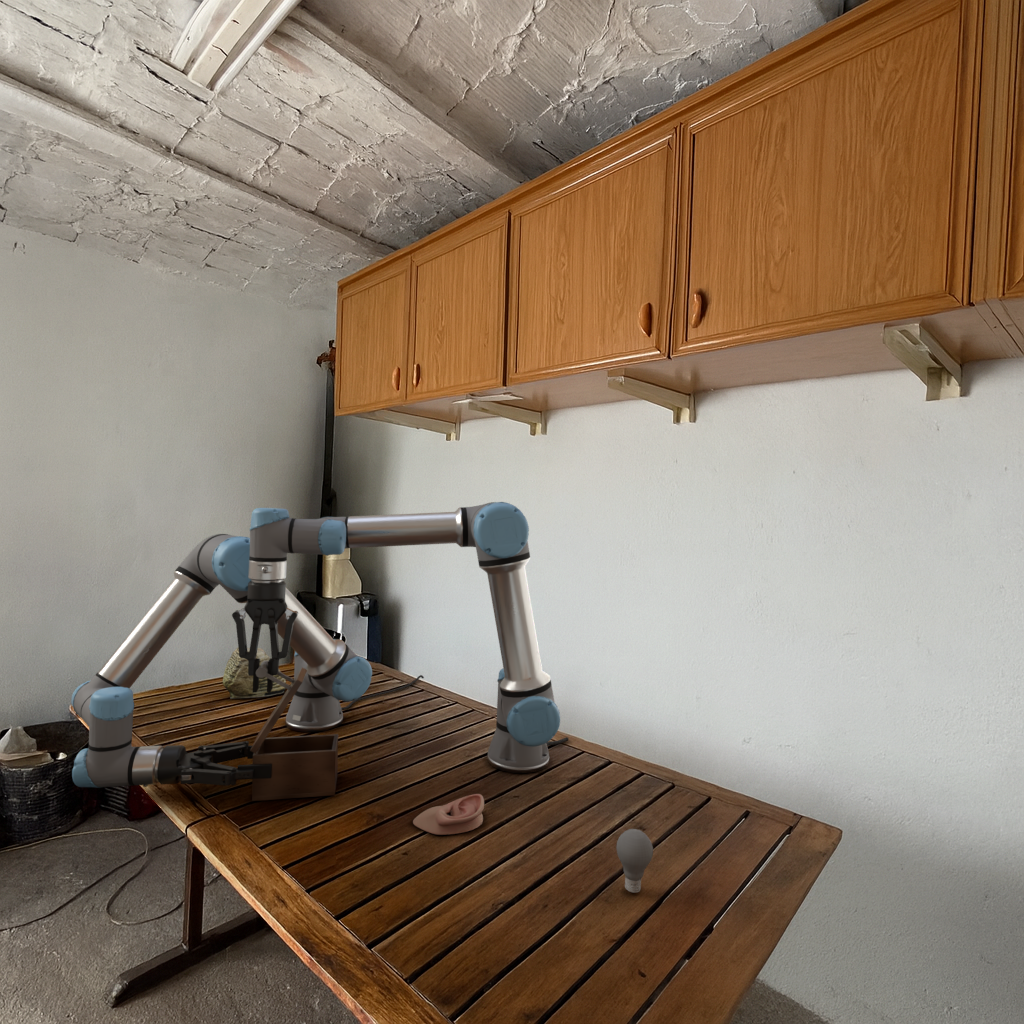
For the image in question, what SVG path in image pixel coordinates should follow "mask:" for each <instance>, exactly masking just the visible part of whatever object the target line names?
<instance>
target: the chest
mask: <svg viewBox="0 0 1024 1024" xmlns="http://www.w3.org/2000/svg"><path fill="white" fill-rule="evenodd" d="M254 764H272V774H271V778H265V779H251V781H252V783H251V802H259V801H261V802H262V801H271V800H272V801H273V800H285V799H287V800H288V799H301V798H313V797H327V796H328V797H329V796H336V788H337V783H338V782H337V781H338V771H339V770H338V769H339V767H338V766H339V765H338V764H339V734H338V733H332V734H330V733H329V734H314V735H293V736H277V737H275V736H273V737H266V739H265V740H264V742H263V743H262V745H261V746H260V748H259V749H258V751H257V752H256V754H255V753H254V754H253V759H252V765H254Z"/></svg>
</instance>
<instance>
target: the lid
mask: <svg viewBox="0 0 1024 1024" xmlns="http://www.w3.org/2000/svg"><path fill="white" fill-rule="evenodd" d="M306 672H307V670H306V669H304V668H303V667H302V668H301V670H300V671H299V673H298V674H297V676H296V677H295V679H294V678H293V677H291V676H288V675H287V674H285V673H283V672H282V671H281V670H280V671H278V673H277V675H279V676H280V677H282V678H284V679H285V680H286V681H288V682H290V683H291V684H288V683H287V682H286V683H284V682H283V681H281V680H279V679H277V678H275V677H274V676H272V675H270V674H268V661H263V662H262V663H261V665H260V666H259V668H258V669H257V671H256V676H257V677H259V678H263V677H266V678H268V679H270V680H272V681H274V682H276V683H277V684H279V685H281V686H283V687H285V688H286V690H285V691H284V693H283V696H281V699H280V700H279V701H278V703H277V705H276V706H275V708H274V709H273V711H272V712H271V714H270V715H269V717H268V719H266V721H265V723H263V726H262V727H261V729H260V730H259V732H258V734H257V735H256V738H255V739H254V742H253V743H252V745H253V746H252V748H251V750H250V751H252V752H253V753H255V754H256V752H257V751H258V749H259V748H260V746H261V745H262V743H263V742H264V740H265V739H266V738H268V736H269V734H270V732H271V731H272V730H273V728H274V726H275V725H276V724H277V721H279V719H280V718H281V716H282V715H283V713H284V712H285V710H286V709H287V707H288V706H289V705H290V703H291V702H292V699H293V696H294V695H295V693H296V691H297V690H298V688H299V687H300V685H301V684H302V682H303V679H304V677H305V674H306Z"/></svg>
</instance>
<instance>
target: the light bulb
mask: <svg viewBox="0 0 1024 1024" xmlns="http://www.w3.org/2000/svg"><path fill="white" fill-rule="evenodd" d="M615 849H616V854H617V857H618V859H619V861H620V863H621V865H622V867H623V873H624V874H623V875H624V876H625V878H624V888H625V890H627V891H628V892H630V893H634V894H635V893H639V892H640V891H641V889H642V887H641V886H642V879H643V877H644V875H645V871H646V868H647V867H648V866H649V864H650V863H651V861H652V859H653V855H654V847H653V843H652V841H651V838H649V836H648V835H647V834H646V833H645V832H643V831H642V830H641V829H636V828H629V829H627V830H625V831H623V832H622V833H621V834H620V835H619V837H618V839H617V841H616V847H615Z"/></svg>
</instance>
